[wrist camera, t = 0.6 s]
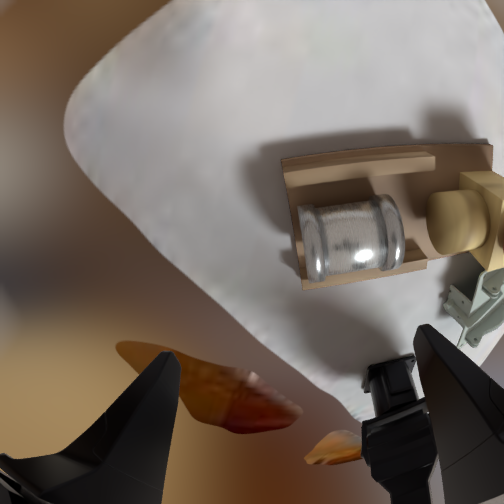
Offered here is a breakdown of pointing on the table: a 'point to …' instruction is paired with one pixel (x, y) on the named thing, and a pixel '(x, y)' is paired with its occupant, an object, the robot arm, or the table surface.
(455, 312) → the metal bracket
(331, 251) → the cylinder
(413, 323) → the table surface
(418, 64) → the table surface
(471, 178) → the wooden channel tray
